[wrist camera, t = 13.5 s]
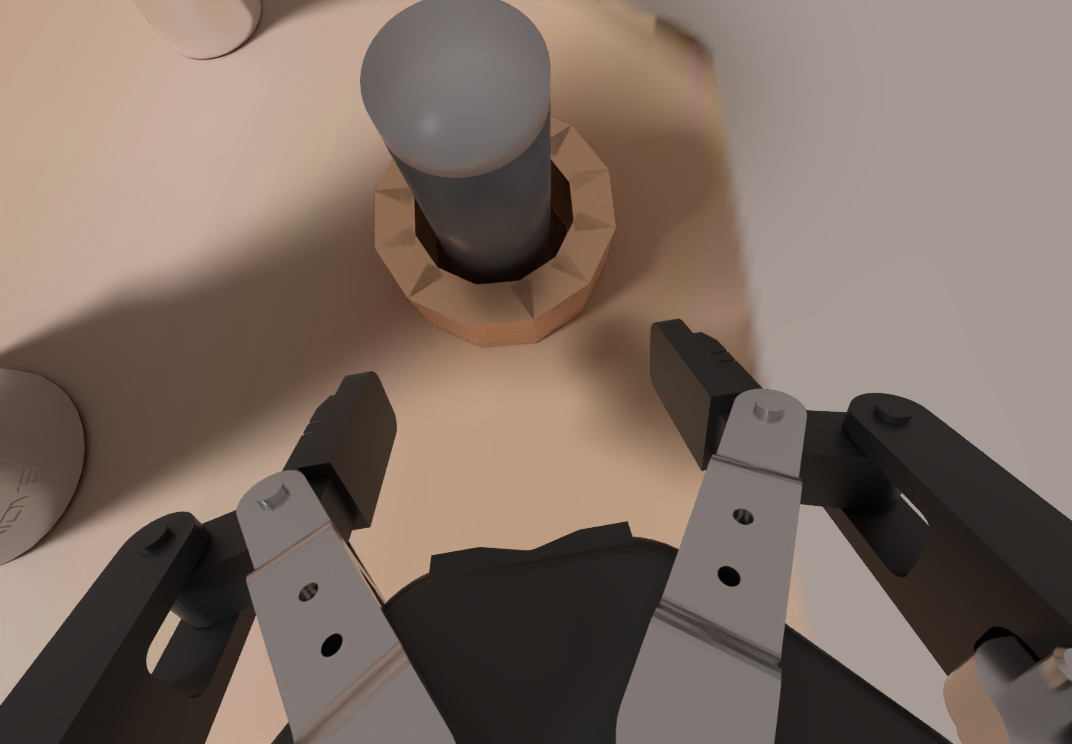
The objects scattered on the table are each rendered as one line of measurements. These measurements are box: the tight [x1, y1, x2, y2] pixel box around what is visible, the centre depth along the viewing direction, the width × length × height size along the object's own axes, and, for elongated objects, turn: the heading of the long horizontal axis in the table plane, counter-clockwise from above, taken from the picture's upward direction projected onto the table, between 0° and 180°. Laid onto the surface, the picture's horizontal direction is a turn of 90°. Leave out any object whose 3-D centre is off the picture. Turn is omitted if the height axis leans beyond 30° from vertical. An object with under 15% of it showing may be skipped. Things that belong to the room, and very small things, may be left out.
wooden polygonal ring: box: [374, 116, 616, 347], centre depth 19 cm, size 10×10×4 cm
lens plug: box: [360, 0, 551, 284], centre depth 16 cm, size 5×5×10 cm
